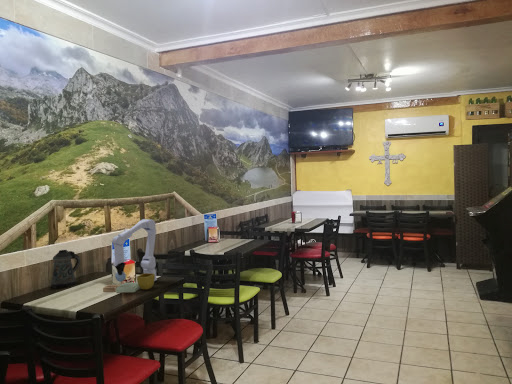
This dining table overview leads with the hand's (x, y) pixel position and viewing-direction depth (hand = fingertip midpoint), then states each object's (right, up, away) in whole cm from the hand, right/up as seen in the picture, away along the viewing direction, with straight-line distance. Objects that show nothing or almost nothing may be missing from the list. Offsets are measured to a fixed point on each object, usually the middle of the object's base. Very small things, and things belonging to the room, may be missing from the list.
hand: (120, 274), depth 259 cm
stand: (-6, -11, +1) cm, 12 cm away
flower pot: (+17, -10, +1) cm, 19 cm away
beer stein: (-48, -12, +23) cm, 55 cm away
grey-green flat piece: (+6, -10, 0) cm, 11 cm away
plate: (0, -5, 0) cm, 5 cm away
